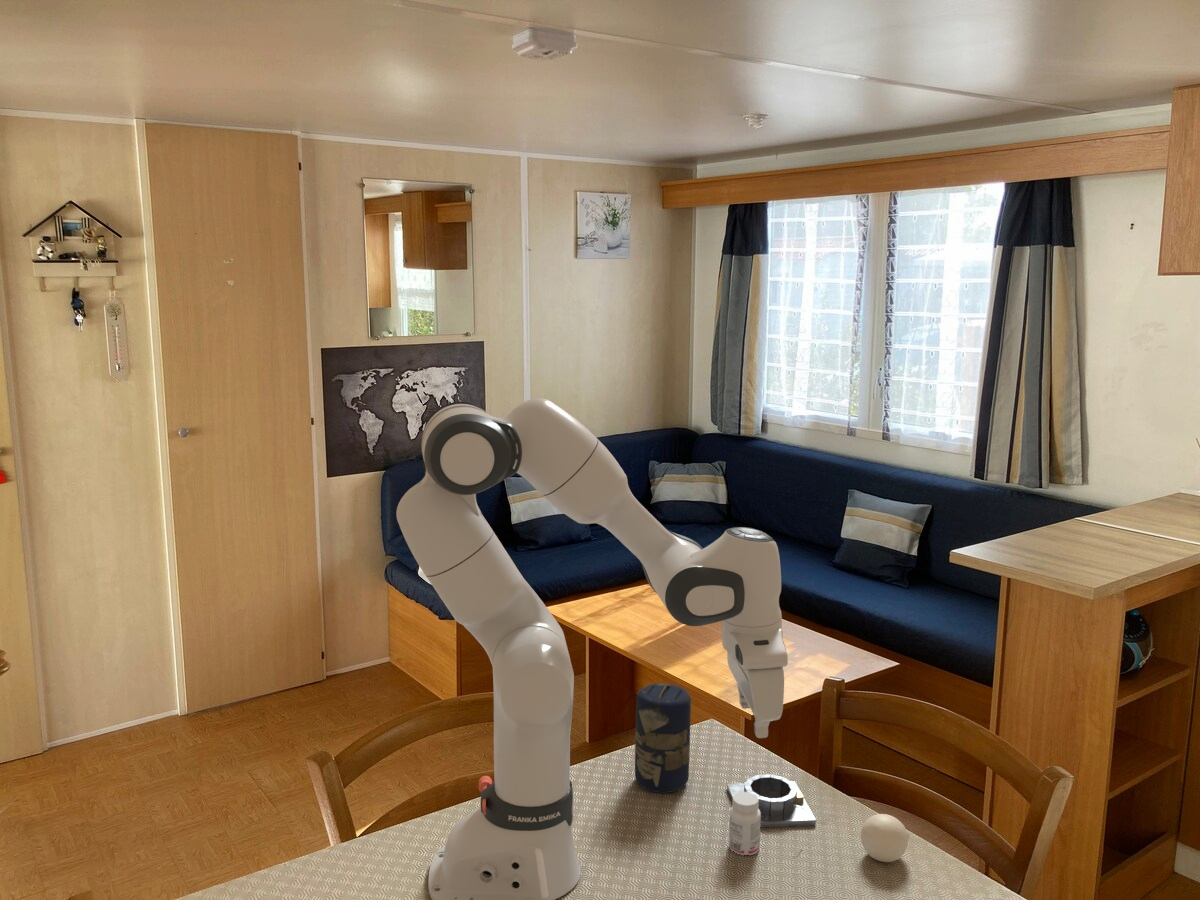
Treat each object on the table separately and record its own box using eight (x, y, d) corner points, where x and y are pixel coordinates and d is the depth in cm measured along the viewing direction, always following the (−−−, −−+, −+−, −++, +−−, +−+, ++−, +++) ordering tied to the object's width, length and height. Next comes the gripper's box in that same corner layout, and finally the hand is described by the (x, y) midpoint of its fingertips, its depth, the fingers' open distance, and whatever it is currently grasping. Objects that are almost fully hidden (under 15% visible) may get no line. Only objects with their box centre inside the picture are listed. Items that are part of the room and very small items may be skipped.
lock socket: (742, 828, 156) (743, 809, 155) (727, 789, 167) (727, 770, 167) (815, 825, 157) (816, 805, 156) (794, 786, 168) (795, 767, 168)
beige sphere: (917, 860, 148) (920, 821, 146) (884, 876, 144) (887, 835, 143) (883, 838, 153) (886, 800, 152) (850, 853, 150) (853, 813, 148)
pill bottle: (756, 838, 153) (758, 789, 152) (762, 856, 148) (764, 806, 147) (726, 838, 153) (728, 790, 151) (731, 857, 148) (733, 807, 147)
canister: (624, 785, 168) (625, 689, 165) (652, 763, 176) (654, 670, 172) (671, 803, 163) (673, 704, 159) (698, 779, 171) (701, 684, 167)
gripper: (716, 611, 153) (718, 692, 156) (746, 663, 133) (748, 755, 136) (755, 608, 154) (757, 689, 156) (791, 660, 134) (792, 751, 136)
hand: (753, 720), depth 146 cm, fingers open, 8 cm apart
